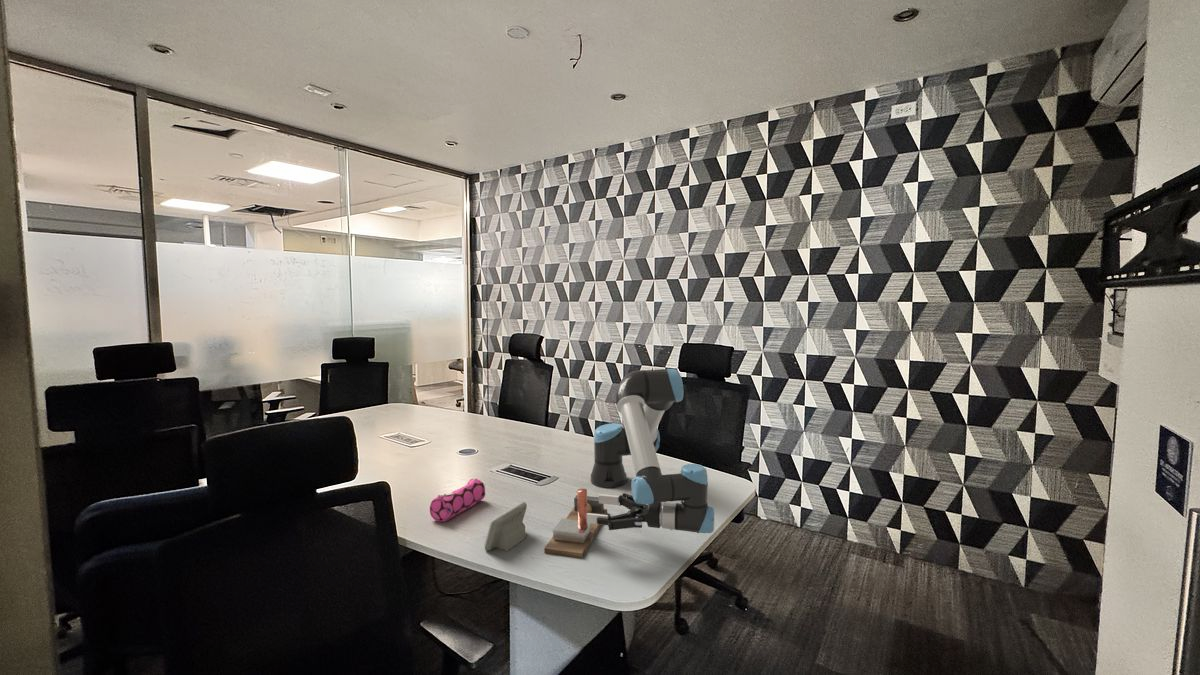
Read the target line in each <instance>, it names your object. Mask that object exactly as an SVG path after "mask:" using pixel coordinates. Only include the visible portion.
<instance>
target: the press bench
mask: <svg viewBox="0 0 1200 675" xmlns="http://www.w3.org/2000/svg"><path fill="white" fill-rule="evenodd" d="M573 500H574V503H573V505H574V506H573V508H572V510H570V512H569V513H568V515H567V516H566V518H565V519H570V520H578V500H577V495H576V496H575V497H574V498H573ZM604 505H605V504H601V503H599V496H589V495H587V513H592V514H601V515H608V508H605V506H604ZM600 527H601V524H592V523H591V532H590V534H589V535H588V537H587V539H586V540H585V542H584V543H577V542H569V541H561V540H554V539H553V536H552V537H551V538H550V540H549V541H548V543H547V544H546V546H545V547H544V548H543V549H544V554H550V555H557V556H558V555H559V556H564V557H571V558H578V559H583V557H584V556H585V554H586V552H587V550H588V548H589V547H590V545H591V543H592V542H593V540H594V538H595V537H596V536H595V535H596V534H597V532H598V531H599V529H600Z"/></svg>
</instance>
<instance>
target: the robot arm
mask: <svg viewBox="0 0 1200 675" xmlns="http://www.w3.org/2000/svg"><path fill="white" fill-rule="evenodd" d="M684 392H685V391H684V384H683V379H682V376H681V373H680V371H679V370H677V369H675V368H663V369H662V368H660V369H643V370H642V369H641V370H638V369H637V370H634V371H631V372H629V373H627V374H626V375H625V376H624V377H623V378H622V379H621V380H620V382H619V384H618V385H617V388H616V391H615V400H614V401H615V406H616V409H617V412H618V413H620V415H621V419H622V422H623V426H622V425H621V424H620V423H612V422H611V423H605V424H603V425H602V424H601V425H599V426H598V427H597V428H596V429H594V432H593V433H594V434H593V435H594V436H593V444H594V450H593V451H594V452H593V453H594V456H593V457H594V464H593V467H592V470H591V474H590V484H592V485H594V486H596V487H599V488H618V487H621V486H623V485H625V484H626V483H627V481H628V479H627V478H628V476H627V473H626V471H625V467H624V463H623V457H624V456H631V459H632V464H633V467H634V471H635V472H634V474H635V477H633V478H632V479H631V486H630V487H631V494H629V493H626V492H623V493H622V494H621V495H612V494H602V493H601V494H600V493H599V494H598V497H599V503H601V504H604V505H613V506H620V507H622V506H623V507H625V508H626V509H628V511H627V512H625V513H620V514H616V515H612V516H611V515H610V514H607V515H601V514H592V513H587V523H592V524H601V525H603V526H607V527H608V530H609V531H613V530H616V531H617V530H622V529H623V530H624V529H632V528H633V529H634V528H636V529H640V528H643V523H647V527H648V528H655V529H660V528H662V529H665V530H666V529H667V530H670V531H682V532H690V533H697V534H711V533H713V532H714V530H715V507H713V506H710V505H708V504H709V503H708V484H709V482H708V471H707V469H706V467H705V466H703V465H702V464H697V463H687V464H684V465H682V466H681V469H680V473H668V474H663V473H662V468H661V466H660V462H659V459H658V456H657V451H658V450H659V448H660V442H661V436H660V431H659V429H658V426H659V424H660V423H661V420H662V418H663V415H664V414H665V411H667V410H669V409H670V408H671V407H672V406H673V404H674V403H675V402H676V403H679V402H682V400H684ZM680 501H681V502H680ZM678 502H680V503H678ZM601 525H600V526H601Z"/></svg>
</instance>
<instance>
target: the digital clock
mask: <svg viewBox="0 0 1200 675" xmlns="http://www.w3.org/2000/svg"><path fill="white" fill-rule="evenodd" d="M527 507H528V506H527V502H525V501H521V502H518V503H516V504H515V505H513V506H512V507H511V508H508V509H507V510H505V511H504V512H502V513H500V514H499V515H496V517H494V518H492V519H491V520H490V523H489V526H488V531H487V533H486V534H487V535H486V538H485V541H484V544H483V545H484V550H485V551H492V550H493V549H495V548H497V547H498V548H497V549H500V548H502V549H501V550H503V549H505V550H504V551H506V550H508V551H510V550H511V549H512V548H514V547H515V546H516V545H518V544H519V543H521V542H522V541H523V540H525V539H526V537H527V536H526V525H525V523H524V517H525V515H526V512H527ZM524 538H525V539H524ZM520 541H521V542H520ZM513 546H514V547H513Z"/></svg>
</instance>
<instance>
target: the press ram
mask: <svg viewBox="0 0 1200 675" xmlns="http://www.w3.org/2000/svg"><path fill="white" fill-rule="evenodd" d="M576 492H577V494H576V496H577V500H578V520H570V519H566V518H561V519H560V520H559V522H558V523H557V524H556V526H554V528H553V529H552V537H553V539H554V540H561V541H569V542H577V543H584V542H585V540H586V539H587V537H588V535H589V534H590V532H591V523H587V496H588V489H586V488H579V489H577V490H576Z"/></svg>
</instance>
